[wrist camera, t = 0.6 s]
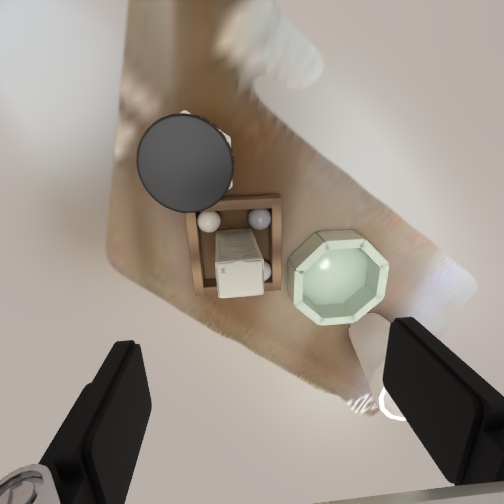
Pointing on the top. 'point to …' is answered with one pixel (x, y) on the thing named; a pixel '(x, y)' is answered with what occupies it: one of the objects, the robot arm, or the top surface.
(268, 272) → the white ball
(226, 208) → the tray
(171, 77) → the top surface
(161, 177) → the jar
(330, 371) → the top surface
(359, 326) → the foam cup
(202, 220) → the pebble
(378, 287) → the bowl
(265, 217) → the pebble
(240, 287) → the box
